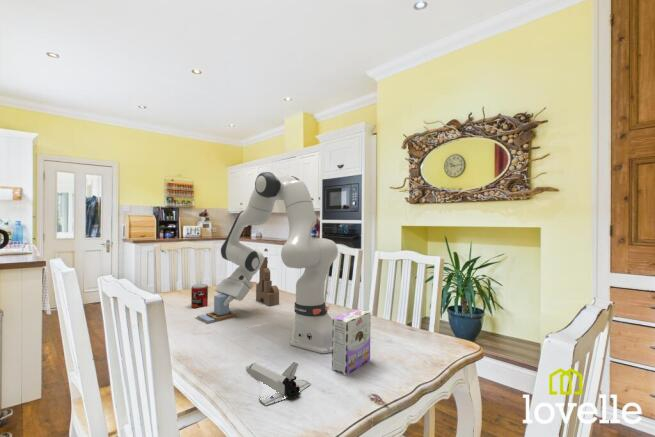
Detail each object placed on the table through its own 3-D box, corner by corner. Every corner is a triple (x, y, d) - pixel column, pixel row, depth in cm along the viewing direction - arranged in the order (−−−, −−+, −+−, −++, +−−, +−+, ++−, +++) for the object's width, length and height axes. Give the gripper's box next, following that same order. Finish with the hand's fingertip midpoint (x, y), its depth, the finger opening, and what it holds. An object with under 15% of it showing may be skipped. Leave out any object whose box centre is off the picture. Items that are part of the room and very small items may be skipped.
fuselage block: (229, 312, 152) (229, 295, 152) (219, 315, 148) (219, 297, 148) (224, 310, 155) (224, 293, 155) (214, 313, 151) (214, 295, 151)
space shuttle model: (267, 362, 109) (267, 332, 109) (319, 391, 91) (319, 355, 91) (223, 378, 98) (224, 344, 98) (273, 414, 80) (273, 373, 80)
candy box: (356, 355, 114) (356, 308, 114) (370, 360, 110) (371, 311, 110) (331, 369, 103) (331, 317, 103) (346, 375, 99) (347, 321, 99)
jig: (240, 318, 152) (240, 313, 152) (206, 327, 140) (206, 321, 140) (226, 313, 160) (226, 308, 160) (194, 320, 148) (194, 315, 148)
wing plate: (214, 321, 144) (214, 319, 144) (208, 323, 142) (208, 320, 142) (203, 316, 151) (203, 314, 151) (197, 317, 148) (197, 315, 148)
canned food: (188, 308, 168) (188, 286, 168) (198, 304, 176) (198, 283, 176) (200, 309, 166) (200, 287, 166) (210, 305, 174) (210, 284, 173)
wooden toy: (279, 304, 177) (280, 257, 177) (269, 306, 173) (269, 258, 173) (264, 298, 189) (265, 255, 189) (254, 300, 184) (254, 255, 184)
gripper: (224, 272, 163) (205, 295, 156) (247, 278, 149) (227, 304, 142) (232, 280, 167) (213, 303, 160) (255, 286, 153) (236, 312, 146)
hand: (220, 303), depth 151 cm, fingers open, 4 cm apart
